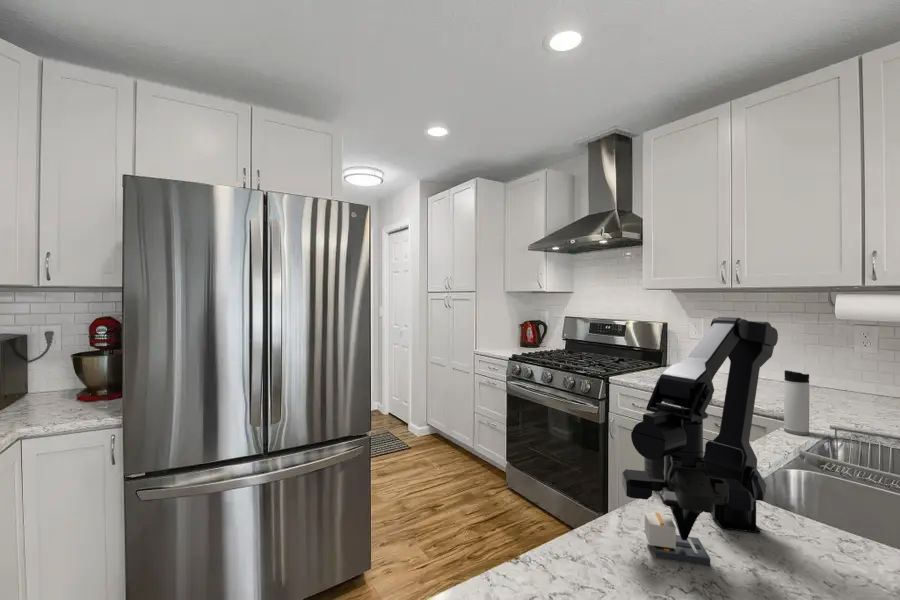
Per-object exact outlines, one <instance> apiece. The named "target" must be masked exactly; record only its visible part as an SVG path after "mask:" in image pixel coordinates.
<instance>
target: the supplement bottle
mask: <svg viewBox="0 0 900 600" xmlns="http://www.w3.org/2000/svg"><path fill="white" fill-rule="evenodd" d="M643 471H646V473H647V474H648V476H649V478H650V479H660V480H664V457H661V458H658V459H654V460H652V459H647V458H645V457H643Z"/></svg>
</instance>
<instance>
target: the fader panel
mask: <svg viewBox="0 0 900 600" xmlns="http://www.w3.org/2000/svg"><path fill="white" fill-rule="evenodd" d="M650 546H651V549H652V551H653V555H654V557H655V559H660V560H667V561H673V562H679V563H680V562H681V563H686V564H687V563H688V564H692V565H700V566H707V567H711V557H710V555H709V554H708V552H707V550H706V549H705V546H704V545H703V544H702V542H701V540H700V538H699V537H695V536H693V537H692V536H688V538H687V540H682V539H681V537H680V534H676V549H675V548H668V547H661V546H654V545H650Z"/></svg>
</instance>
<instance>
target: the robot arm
mask: <svg viewBox="0 0 900 600" xmlns="http://www.w3.org/2000/svg"><path fill="white" fill-rule="evenodd" d="M778 340H779V334H778V330H777V329H776V328H775V327H774V326H772V325H771V323H770V322H769V321H756V320H755V321H753V320H747V319H745V318H741V317H731V316H717V317H714V318H713V319H712V320H711V323H710V327H709V329H708V330H707V331H706V333H705V334H704V335H703V337H701V339H700V341H699V342H698V343H697V345H695V347H694V348H693V349H692V351H691V352H690V353H689V355H688V356H687V357H686V358H685V359H684V360H682V361H678V362H676V363H674V364H671V365H670V366H669V367H668V368H666V369H665V370H664V372H662V373H661V375H660V376H659V378H658V379H657V381H656V383H655V386H654V388H653V391H652V393H651V396H650V398H649V400H648V403H647V405H646V407H645V410H646V413H643V415H642V421H641V422H638V423H636V424H635V425H634V427H633V428H632V431H631V433H630V434H631V435H630V437H631V438H630V439H631V442H632V446H633V447H634V449H635V450H636V451H637V453H638V454H639V455H640V456H642V457H643V458H644V457H645V458H647V459H652V460H654V459H658V458H661V457H664V480H660V479H650V478H649V476H648V474H647V473H646V471H644V470H637V469H636V470H635V469H626V468H625V470H623V471H622V473H621V485H622V487H623V490H624V492H625V495H626V497H628V498H630V499H637V500H646V501H647V500H649V499H650V498H651V497H652V496H653V492H657V495H658V497H659V499H660V500H661V502H662V504H663V505H664V506H666V507H669V508H670V510H671V511H670V512H671V513H672V516H673V519H674V522H675V525H676V528H677V530H678V533H679V534H678V535H679V536H680V537H681V539H682V540H687V538H688V537H690V533H691V531H692V529H693V527H694V525H695V523H696V521H697V519H698V517H700V514H702V513H703V512H704V513H706V514H707V513H709V514H710V515H711V516H712V517H713V518H714V519H713V520H715V521H716V523H717V524H718V525H719V527H720V528H722V529H725V530H726V529H727V530H734V531H735V530H736V531H742V532H743V531H744V532H749V533H750V532H751V533H761V529H760V527H759V525H757V501H758V502H759V501H761V502H764V501H765V494H766V492H767V490H766V489H767V484H766V482H765V480H764V478H763V476H762V475H761V473H760V471H759V470H758V458H757V456H756V453H755V452H754V450H753V448H752V445H751V443H750V438H751V429H752V423H753V416H754V412H755V411H754V410H755V403H756V396H757V389H758V383H759V375H760V369H761V367H763V366H764V365H765V364H766V362H768V361H769V360H770V359H771V358H772V357H773V354H774V348H775V346H776V345H777V343H778ZM726 359H729V363H730V364H729V370H728V375H727V383H726V388H725V389H726V390H725V394H724V401H723V408H722V412H721V413H722V414H721V421H720V426H719V432H718V435H717V436H716V437H714V439H713V440H707V442H706V443H705V444H704V439H703V438H704V436H703V434H704V429H703V428H704V427H703V426H704V424H703V423H704V421H703V420H705V419H708V417H709V415H708V413H707V412H706V410H707V409H708V407H709V405H710V404H711V401H712V399H713V396H714V395H713V394H715V386H714V384H713V380H714V378H715V375H716V374H717V372H718V371H719V369H720V368H721V367H722V365H723V364H724V363H725V361H726ZM647 411H648V412H647ZM649 412H650V413H649ZM651 412H652V413H651ZM704 445H705V446H704Z"/></svg>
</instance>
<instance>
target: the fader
mask: <svg viewBox="0 0 900 600" xmlns="http://www.w3.org/2000/svg"><path fill="white" fill-rule="evenodd" d="M675 525H676V524H675V523H674V521H673V520H672V517H671V515H669V514H668V515H667V514H661V513H660V512H655V513H652V512H644V534H645V537H646V539H647V542H648V544H649V546H651V545H654V546H661V547H668V548H675V549H676V535H677V534H676V532H677V531H676V530H677V529H676V528H677V526H675Z"/></svg>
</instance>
